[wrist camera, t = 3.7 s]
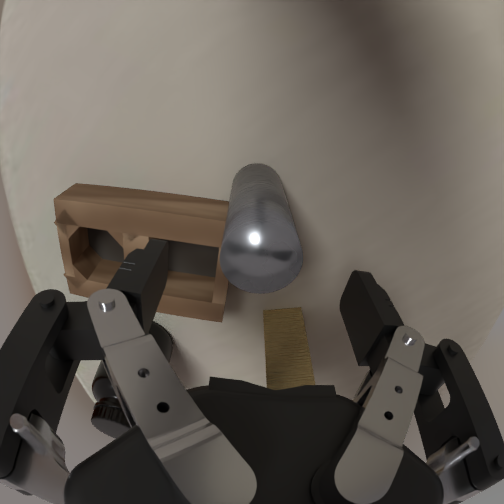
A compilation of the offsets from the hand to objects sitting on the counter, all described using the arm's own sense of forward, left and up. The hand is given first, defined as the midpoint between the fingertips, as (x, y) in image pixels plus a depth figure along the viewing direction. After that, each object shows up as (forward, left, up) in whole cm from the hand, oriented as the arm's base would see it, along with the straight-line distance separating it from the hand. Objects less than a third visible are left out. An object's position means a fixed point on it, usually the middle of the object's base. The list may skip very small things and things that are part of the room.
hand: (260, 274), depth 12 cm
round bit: (0, 0, -11) cm, 11 cm away
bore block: (+6, -8, -11) cm, 14 cm away
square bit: (+13, +5, -11) cm, 17 cm away
